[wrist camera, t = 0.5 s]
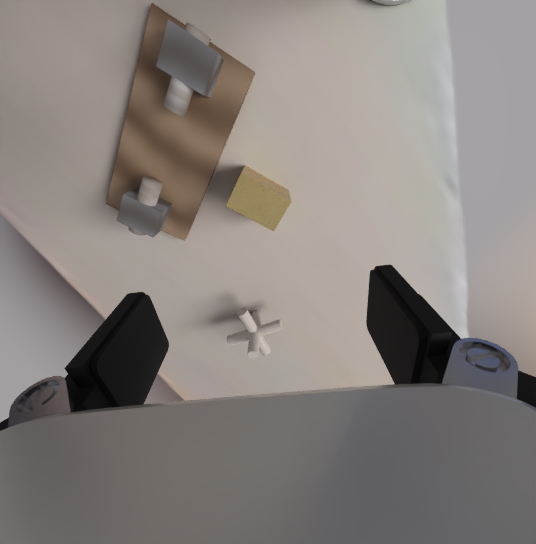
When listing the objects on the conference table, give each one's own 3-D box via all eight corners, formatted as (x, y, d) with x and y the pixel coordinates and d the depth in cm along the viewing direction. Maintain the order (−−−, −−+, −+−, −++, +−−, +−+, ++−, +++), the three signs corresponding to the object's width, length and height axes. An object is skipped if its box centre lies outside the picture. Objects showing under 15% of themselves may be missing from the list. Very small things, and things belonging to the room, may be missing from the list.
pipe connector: (220, 302, 48) (209, 342, 40) (270, 285, 46) (269, 323, 38) (244, 339, 53) (238, 381, 44) (290, 324, 51) (293, 367, 42)
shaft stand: (156, 6, 28) (133, -16, 23) (255, 73, 31) (252, 65, 26) (110, 201, 39) (88, 212, 34) (186, 237, 42) (175, 252, 37)
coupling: (231, 194, 38) (225, 205, 33) (245, 165, 36) (240, 173, 31) (273, 216, 40) (273, 231, 35) (288, 190, 38) (291, 201, 33)
